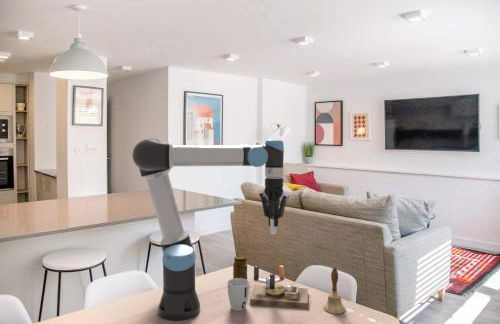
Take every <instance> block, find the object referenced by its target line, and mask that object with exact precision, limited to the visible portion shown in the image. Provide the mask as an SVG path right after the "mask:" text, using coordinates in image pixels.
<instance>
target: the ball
mask: <svg viewBox="0 0 500 324" xmlns="http://www.w3.org/2000/svg"><path fill="white" fill-rule="evenodd" d="M291 286H292V285H290V286H287V287H286V286H285V287H286V288H285V292H293V288H292V287H291Z"/></svg>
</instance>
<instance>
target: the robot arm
mask: <svg viewBox="0 0 500 324" xmlns="http://www.w3.org/2000/svg"><path fill="white" fill-rule="evenodd" d="M264 142H265V143H264V144H245V143H244V144H238V145H178V144H177V145H174V144H172V142H162V141H161V140H158V139H156V138H146V139H143V140H141V141H139V142H138V143H137V144H136V145H135V146H134V147H133V150H132V155H131V156H132V161H133V163H134V164H135V166H137V168H138V170H139V173H140V176H141V178H143V179H144V180H146V183H147V186H148V191H149V193H150V197H151V201H152V204H153V208H154V211H155V214H156V218H157V221H158V222H157V223H158V225H159V228H160V231H161V235H162V238H161V240H160V242H159V243H160V247H161V250H162V258H161V259H162V291H163V292H162V294H161V298H160V301H159V304H158V316H159V317H161V318H163V319H165V320H169V321H183V320H184V321H185V320H188V319H191V318H194V317H195V316H197V315H198V314H199V313H200V312H201V302H200V300H199V297H198V293H197V291H196V258H197V257H196V252H195V248H194V245H193V244H192V241H191V236H190V233H188V232H186V231H185V230H184V226H183V222H182V219H181V215H180V211H179V209H178V205H177V201H176V197H175V194H174V191H173V187H172V183H171V180H170V176H169V173H170V171H171V169H172V168H175V167H254V168H258V167H262V166H265V167H264V177H265V178H264V190H263V192H260V193H258V195H259V197H260V198H261V199H260V200H261V203H262V205H261V206H262V209H263V215H264V217H267V218H268V226H269V232H270V233H269V234H270V235H273V236H274V235H276V234H277V228H278V226H279V219H281V218H283V216H284V212H285V208H286V205H287V201H288V199H289V197H290V196H289V195H288V194H285V191H284V189H283V187H284V153H285V150H284V149H285V147H284V141H283V140H281V139H266V140H265V141H264Z"/></svg>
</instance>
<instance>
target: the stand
mask: <svg viewBox="0 0 500 324" xmlns="http://www.w3.org/2000/svg"><path fill="white" fill-rule="evenodd" d="M287 286H291V287H292V288H293V292H285V294H284V295H282V296H278V297H273V296H269V295H267V294H265V287H266V285H261V284H259V285H257V284H255V285H254V286H253V291H252V292H251V295H250V299H249V302H250V303H249V304H250V305H257V306H259V305H260V306H272V307H288V308H298V309H299V308H300V309H301V308H303V309H308V306H309V303H308V302H309V295H308V294H309V293H308V290H309V289H308V288H307V287H305V288H304V287H299V284H297V285H291V284H288V285H285V286H284V287H285V288H286V287H287Z"/></svg>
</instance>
